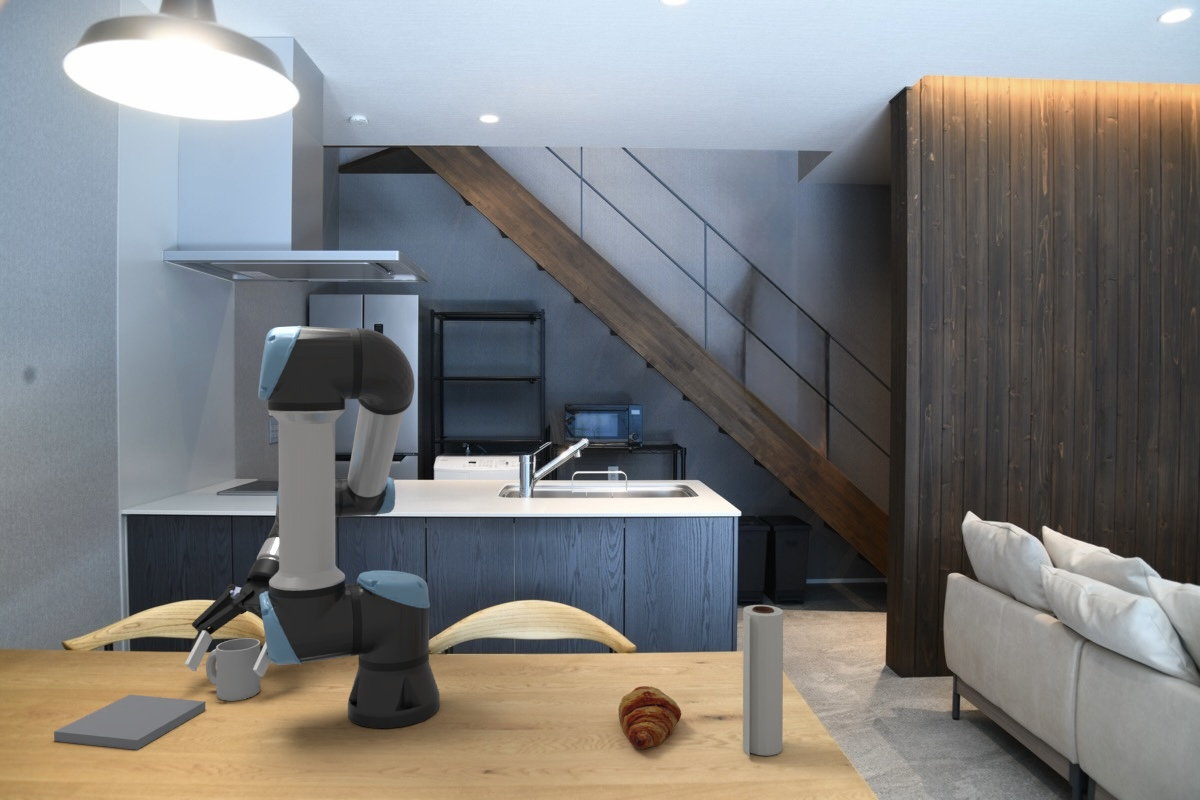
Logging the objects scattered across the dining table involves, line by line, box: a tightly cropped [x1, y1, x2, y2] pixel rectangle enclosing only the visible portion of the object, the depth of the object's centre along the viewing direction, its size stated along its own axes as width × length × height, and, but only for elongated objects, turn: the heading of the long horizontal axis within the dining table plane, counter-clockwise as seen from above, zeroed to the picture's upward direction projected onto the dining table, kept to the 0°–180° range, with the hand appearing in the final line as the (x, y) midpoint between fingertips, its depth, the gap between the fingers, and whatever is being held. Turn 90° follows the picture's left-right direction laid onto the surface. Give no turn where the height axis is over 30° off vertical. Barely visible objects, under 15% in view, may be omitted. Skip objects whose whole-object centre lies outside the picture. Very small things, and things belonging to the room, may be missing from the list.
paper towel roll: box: [742, 604, 784, 760], centre depth 120 cm, size 7×6×21 cm
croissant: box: [618, 685, 682, 750], centre depth 128 cm, size 21×10×8 cm, turn 172°
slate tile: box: [53, 694, 207, 751], centre depth 129 cm, size 15×15×2 cm
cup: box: [205, 637, 262, 702], centre depth 142 cm, size 7×10×9 cm
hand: (223, 670), depth 140 cm, fingers open, 13 cm apart
